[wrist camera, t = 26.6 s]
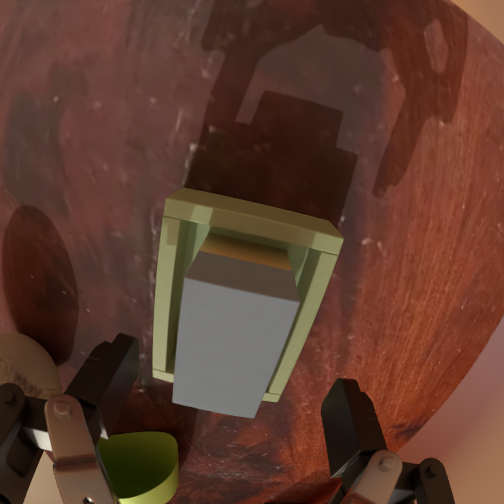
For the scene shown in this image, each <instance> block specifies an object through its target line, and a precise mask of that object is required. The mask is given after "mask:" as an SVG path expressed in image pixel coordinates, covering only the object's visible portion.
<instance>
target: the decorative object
mask: <svg viewBox="0 0 504 504" xmlns="http://www.w3.org/2000/svg"><path fill="white" fill-rule="evenodd" d="M4 383H14V384H16V385H18V386H19V387H21V389H22V390H23V392H24V394H25V395H26V396H30V397H35V398H40V399H46V400H49V399H50V398H51V397H53V396H55V395H59V394H62V387H61V382H60V377H59V373H58V370H57V367H56V365H55V363H54V361H53V359H52V357H51V356H50V355H49V353H48V352H47V351H46V350H45V349H44V348H43V347H42V346H41V345H40V344H39V343H37V342H36V341H34V340H33V339H31V338H30V337H28V336H26V335H23V334H20V333H5V334H2V335H0V385H2V384H4Z"/></svg>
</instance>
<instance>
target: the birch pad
mask: <svg viewBox="0 0 504 504" xmlns="http://www.w3.org/2000/svg"><path fill="white" fill-rule="evenodd" d="M199 251H204V252H209V253H213V254H218V255H222V256H227V257H231V258H236V259H240V260H245V261H249V262H254V263H258V264H263V265H267V266H272V267H277V268H281V269H286V270H291V271H292V269H291V264H290V260H289V256H288V252H287V250H284V249H280V248H275V247H271V246H266V245H262V244H257V243H253V242H248V241H244V240H240V239H235V238H231V237H226V236H222V235H217V234H213V233H208V235H207V236H206V238H205V240H204V242H203V244H202V245H201V247H200V249H199Z"/></svg>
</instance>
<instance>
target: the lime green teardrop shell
mask: <svg viewBox="0 0 504 504" xmlns="http://www.w3.org/2000/svg"><path fill="white" fill-rule="evenodd" d="M97 448H98V451H99V453H100V456H101V459H102V461H103V464H104V467H105V469H106V471H107V474H108V476H109V479H110V481H111V483H112V485H113V488H114V490H115V492H116V494H117V495H118V497H119V499H120V502H121V504H165V503H166V502H168V501H169V500H170V499H171V498H172V497H173V495H174V494H175V492H176V489H177V486H178V479H179V461H178V446H177V442H176V440H175V438H174V437H173V436H172V435H170V434H168V433H164V432H135V433H125V434H117V435H110V438H109V440H108V439H105V438H103V437H100V438H99V440H98V443H97Z"/></svg>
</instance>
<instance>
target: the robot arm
mask: <svg viewBox="0 0 504 504" xmlns="http://www.w3.org/2000/svg"><path fill="white" fill-rule="evenodd" d="M138 370H139V342H138V338H135V337H132V336H129V335H126V334H123V333H119V334H118V335H117V336H116V338H115V339H114V341H113V342H112V343H109V342H107V341H104V342H103V343H101V344H100V345H98V346H96V347H95V348H94V350H93V351H92V352H91V354H90V355H89V358H87V360H86V361H85V363H84V365H82V367H81V368H80V370H79V371H78V373H77V374H76V376H75V377H74V379H73V380H72V382H71V383H70V385H69V387H68V388H67V390H66V391H65V392H64V393H63V394H59V395H55V396H53V397H51V398H50V399H49V400H46V399H40V398H35V397H30V396H26V395H25V394H24V392H23V390H22V389H21V387H19V386H18V385H16V384H14V383H4V384H2V385H0V504H23V502H24V499H25V497H26V494H27V491H28V488H29V486H30V483H31V481H32V478H33V475H34V473H35V471H36V468H37V466H38V463H39V461H40V458H41V456H42V454H43V452H44V450H49V451H52V452H53V456H54V461H55V463H54V464H53V471H54V475H55V479H56V482H57V485H58V488H59V491H60V495H61V497H62V500H63V503H64V504H121V502H120V499H119V497H118V495H117V494H116V492H115V490H114V488H113V485H112V483H111V481H110V479H109V476H108V474H107V471H106V469H105V467H104V464H103V461H102V459H101V456H100V453H99V451H98V448H97V443H98V440H99V438H100V437H103V438H105V439H108V440H109V438H110V435H111V433H112V431H113V428H114V426H115V424H116V422H117V419H118V417H119V415H120V413H121V410H122V408H123V406H124V404H125V401H126V399H127V397H128V395H129V393H130V391H131V388H132V386H133V384H134V382H135V380H136V377H137V374H138ZM321 416H322V422H323V428H324V434H325V441H326V447H327V453H328V460H329V467H330V474H331V478H336V477H341V480H342V482H341V483H340V484H339V485H338V487H337V488H336V490H335V491H334V493H333V494H332V496H331V497H330V498H329V500H328V501H327V502H326V504H414V501H415V500H417V504H455V502H454V498H453V494H452V491H451V487H450V484H449V480H448V477H447V474H446V471H445V468H444V466H443V464H442V463H441V462H440V461H439V460H437V459H435V458H427V459H425V460H423V461H422V462H421V463H420V464H413V463H407V462H402V461H401V459H400V458H399V456H398V455H397V454H396V453H394V452H392V451H390V450H388V449H387V446H386V443H385V439H384V436H383V433H382V430H381V427H380V424H379V421H378V420H377V419H378V418H377V415H376V413H375V409H374V406H373V403H372V401H371V399H370V398H369V397H368V396H367V394H366V393H365V392H361V391H360V388H359V385H358V382H357V381H356V380H355V379H342V378H338V379H337V380H336V381H335V383H334V384H333V386H332V388H331V389H330V391H329V393H328V394H327V396H326V398H325V399H324V401H323V403H322V407H321Z"/></svg>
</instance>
